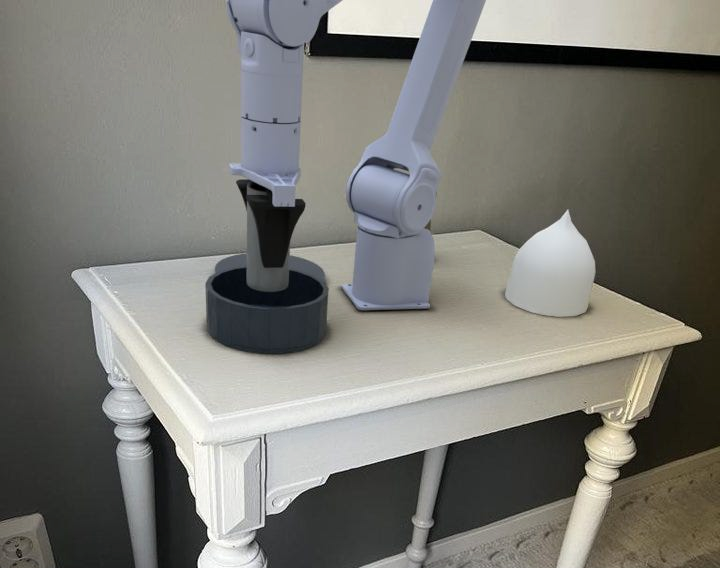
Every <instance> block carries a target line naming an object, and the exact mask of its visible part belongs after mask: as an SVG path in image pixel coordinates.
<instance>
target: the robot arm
mask: <svg viewBox="0 0 720 568" xmlns="http://www.w3.org/2000/svg"><path fill="white" fill-rule="evenodd" d="M342 1H343V0H226V1H225V3H226V5H225V6H226V11H227V15H228V19H229V21H230V24H231V26H232V28H233V30H234V31H235V33H236V37H237V52H238V53H239V54H240V119H241V120H240V150H241V151H240V163H229V164H228V171H229V174H231V175H232V176H240V177H242V178H243V179H237V180H235V184H236V186H237V188H238V190H239V192H240V195H241V197H242V200H243V203H244V206H245V211H246V212H247V202H248V204H249V206H250V208H251V210H252V213H253V216H254V220H255V223H256V228H257V233H258V241H259V249H260V256H261V261H262V264H263V267H264V268H283V266H284V263H285V260H286V256H287V253H288V248H289V244H290V245H291V240H292V236H293V233H294V231H295V228H296V227H297V226H296V225H297V223H298V222H299V220H300V218H301V216H302V214H303V213H304V212H305V209H306V201H305V200H304V199H303V198H296V186H297V184H298V182H299V181H300V179H301V173H302V169H301V167H300V152H301V151H300V149H301V125H302V121H301V120H302V99H303V73H304V51H305V49H304V48H305V44H307V43H309V42H311V41H312V39H313V38H314V36H315V34H316V31H317V30H318V27H319V23H320V20H321V18H322V17H323V16H324V15H325V14H326V13H327V12H329V11H330V10H332V9H333V8H334V7H336V6H337V5H339V4H340V3H342ZM486 2H487V0H432V1H431V5H430V6H429V10H428V13H427V16H426V19H425V22H424V24H423V28H422V31H421V33H420V36H419V40H418V42H417V45H416V47H415V50H414V53H413V55H412V60H411V62H410V65H409V68H408V70H407V74H406V77H405V79H404V82H403V85H402V88H401V90H400V93H399V96H398V99H397V102H396V105H395V108H394V111H393V114H392V116H391V120H390V122H389V125H388V128H387V131H386V133H384V135H382V136H381V137H379V138H378V139H377V140H375V141H373V142H372V143H370V144H369V145H367V146H366V147H365V149H364V151H363V155H362V157H361V159H360V161H359V163H358V164H357V165H356V167H355V168H354V169H353V170H352V172H351V174H350V175H349V178H348V181H347V184H346V190H345V200H346V203H347V206H348V208H349V209H350V211H351V212H352V213H353V222H354V223H355V224H357V227H356V239H355V251H354V260H353V261H354V262H353V273H352V283H343V284H342V285H341V289H342V290H343V291H344V293H345V294H346V296H347V297H348V298H349V299H350V301H351V302H352V304H353V305H354V306H355V308H356V309H357V310H358V311H384V310H388V311H389V310H420V309H430V308H431V304H430V303H429V300H430V299H429V298H430V292H431V286H432V279H433V273H434V266H435V258H436V248H435V247H436V246H435V245H436V244H435V239H434V236H433V234H432V231H431V232H430V231H429V230H428V229H424V227H425V226H426V225H427V224H428V222H429V221H430V219H431V220H432V217H433V215H434V212H435V209H436V203H437V202H436V201H437V195H436V192H437V193H438V189H439V184H440V182H441V178H442V173H441V170H440V168H439V166H438V165H437V163H436V161H435V159H434V157H433V155H432V153H431V150H432V148H433V145H434V142H435V139H436V137H437V135H438V132H439V131H438V130H439V129H440V126H441V123H442V120H443V118H444V114H445V112H446V110H447V107H448V105H449V101H450V99H451V96H452V94H453V92H454V88H455V86H456V83H457V80H458V77H459V74H460V72H461V69H462V67H463V63H464V61H465V58H466V55H467V53H468V51H469V48H470V45H471V42H472V40H473V37H474V34H475V31H476V29H477V26H478V23H479V21H480V18H481V15H482V13H483V10H484V7H485V5H486ZM397 169H399V170H397ZM400 170H403V171H406V172H403V171H400ZM407 172H409V173H407ZM250 182H255V183H257V184H259V185H261V186H264V187H266V188H268V189H269V190H266V195H247V185H248V184H249V183H250Z"/></svg>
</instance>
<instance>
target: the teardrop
mask: <svg viewBox="0 0 720 568" xmlns="http://www.w3.org/2000/svg"><path fill="white" fill-rule="evenodd" d="M595 276H596V261H595V258H594V255H593V252H592V250H591V248H590V246H589V244H588V241H587V239H586V238H585V237H584V236H583V235H582V234H581V233H580V232H579V231H578V229H577V227H576V226H575V225H574V223H573V222H572V218H571V214H570V210H569V209H567V210H566V211H565V212H564V214H563V215H562V216H561V217H560V219H557V221H555V222H554V223H552V224H551V225H549V226H547V227H545V228H544V229H542V230H540V231H538V232H536V233H535V234H534V235H532V236H531V237H530V238H529V239H527V241H526V242H525V243H523V245H522V246H521V247H520V248H519V249H518V251H517V253H516V255H515V257H514V258H513V261H512V266H511V269H510V273H509V276H508V281H507V285H506V288H505V292H504V295H505V299H506V301H508V302H510V303H511V304H512V305H513V306H514V307H517V308H520V309H522V310H524V311H527V312H530V313H533V314H537V315H540V316H541V315H542V316H548V317H556V318H565V317H567V318H568V317H577V316H579V315H582V314H584V313H586V312H587V310H588V308H589V303H590V299H591V295H592V290H593V286H594V281H595Z"/></svg>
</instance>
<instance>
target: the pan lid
mask: <svg viewBox="0 0 720 568" xmlns="http://www.w3.org/2000/svg"><path fill="white" fill-rule="evenodd" d="M240 266H247V252H246V253H240V254H234V255H230V256H227V257H225V258H223V259H220V260H219V261H218V262H217V263H215V267H214V274H215V273H217V272H219V271H222V270H225V269H229V268H232V267H240ZM289 268H291V269H295V270H300V271H303V272H306V273H309V274H312V275H314V276H316V277H317V278H319V279H321V280H322V281H324V282H325V279H326V277H325V275H326V274H325V271H324V269H323V268H322V267H321V266H320V265H319V264H317V263H315V262H314V261H311V260H308V259H306V258H304V257H300V256H295V255H292V254H290V260H289Z"/></svg>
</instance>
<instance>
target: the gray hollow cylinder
mask: <svg viewBox="0 0 720 568" xmlns="http://www.w3.org/2000/svg"><path fill="white" fill-rule="evenodd" d="M266 190H269V189H268V188H266V187H264V186H261V185H259V184H257V183H255V182H250V183H249V184H248V185H247V195H266ZM246 253H247V277H246V278H247V285H248V286H249V287H250V288H252V289H255V290H258V291H264V292H277V291H282V290H284V289H286V288H287V287H288V282H289V260H290V255H291V243H290V244H289V248H288V253H287V256H286V260H285V263H284V266H283V268H264V267H263V264H262V261H261V256H260V249H259V241H258V233H257V228H256V223H255V220H254V216H253V213H252V210H251V208H250V206H249V204H248V202H247V211H246Z"/></svg>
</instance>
